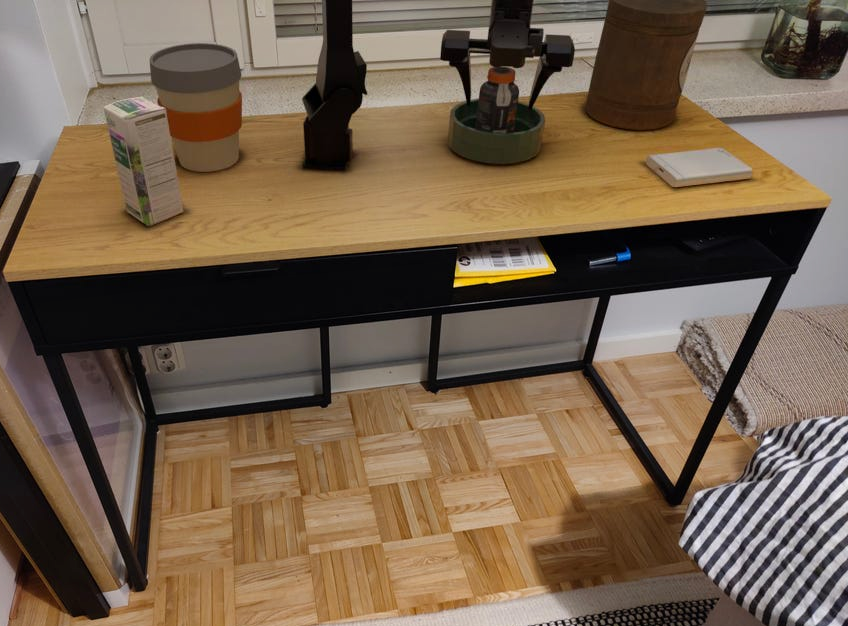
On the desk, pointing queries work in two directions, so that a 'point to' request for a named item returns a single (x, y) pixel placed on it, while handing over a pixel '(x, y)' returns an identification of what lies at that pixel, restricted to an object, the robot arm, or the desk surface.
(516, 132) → the bowl
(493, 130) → the pill bottle
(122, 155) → the syrup box
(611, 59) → the wooden container
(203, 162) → the reusable coffee cup
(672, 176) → the hard drive
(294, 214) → the desk surface
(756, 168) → the desk surface
